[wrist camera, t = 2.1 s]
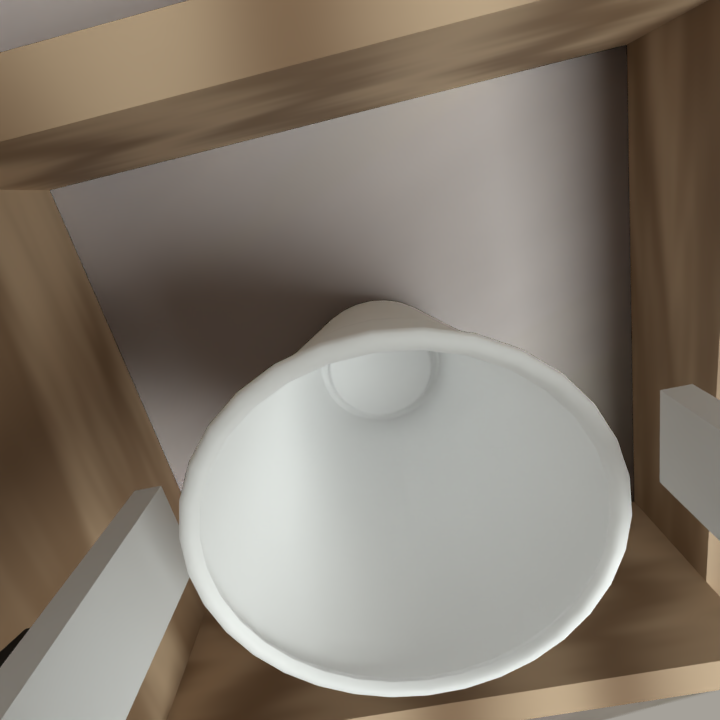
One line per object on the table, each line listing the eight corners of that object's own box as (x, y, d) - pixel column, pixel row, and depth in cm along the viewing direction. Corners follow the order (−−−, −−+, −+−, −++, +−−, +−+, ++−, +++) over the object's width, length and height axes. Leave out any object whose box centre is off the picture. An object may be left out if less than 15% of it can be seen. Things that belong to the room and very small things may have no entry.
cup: (230, 301, 19) (83, 430, 9) (456, 216, 18) (589, 248, 8) (318, 486, 22) (287, 737, 12) (515, 423, 21) (663, 641, 11)
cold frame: (193, 604, 25) (37, 996, 13) (-17, 161, 17) (-926, 85, 5) (664, 519, 23) (1003, 880, 11) (670, -18, 15) (1857, -808, 3)
